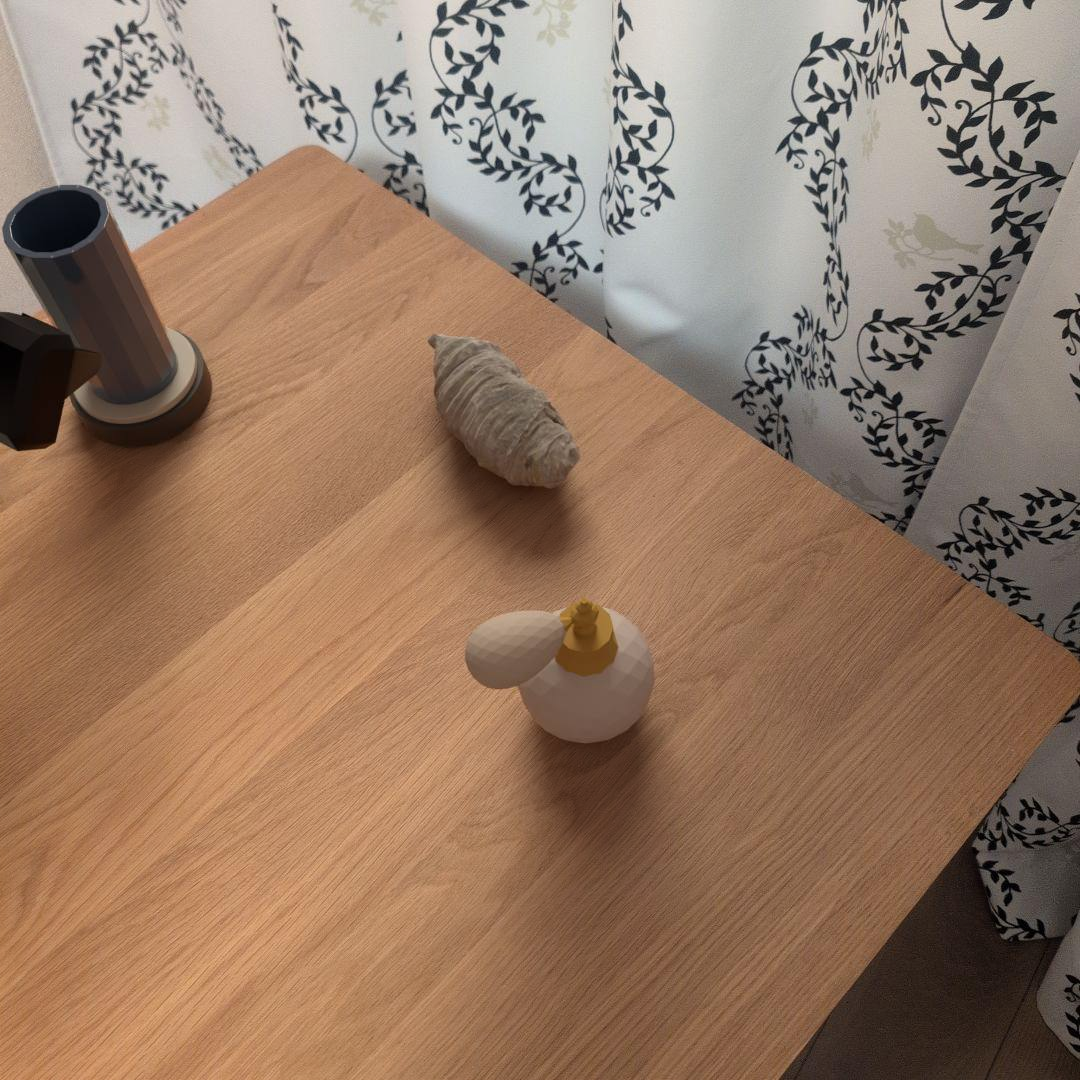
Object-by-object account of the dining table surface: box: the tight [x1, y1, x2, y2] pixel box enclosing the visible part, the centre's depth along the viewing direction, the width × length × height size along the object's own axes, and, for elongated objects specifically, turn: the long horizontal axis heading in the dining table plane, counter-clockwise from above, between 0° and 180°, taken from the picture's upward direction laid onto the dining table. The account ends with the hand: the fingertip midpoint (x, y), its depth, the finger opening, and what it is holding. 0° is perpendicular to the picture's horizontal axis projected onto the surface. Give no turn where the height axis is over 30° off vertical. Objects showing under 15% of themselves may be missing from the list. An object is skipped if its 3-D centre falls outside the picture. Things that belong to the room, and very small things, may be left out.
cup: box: [1, 184, 178, 405], centre depth 71 cm, size 6×6×13 cm
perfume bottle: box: [464, 596, 655, 744], centre depth 60 cm, size 8×10×12 cm
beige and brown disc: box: [69, 326, 213, 448], centre depth 78 cm, size 9×9×3 cm
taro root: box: [427, 333, 581, 489], centre depth 73 cm, size 6×14×8 cm, turn 36°
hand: (39, 335), depth 68 cm, fingers open, 9 cm apart
